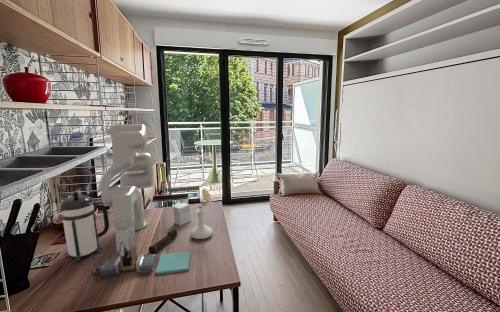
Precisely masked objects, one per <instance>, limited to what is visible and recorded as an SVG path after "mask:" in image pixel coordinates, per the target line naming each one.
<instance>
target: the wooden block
mask: <svg viewBox="0 0 500 312" xmlns="http://www.w3.org/2000/svg"><path fill="white" fill-rule="evenodd" d="M125 250H127V249H125ZM129 251H130V256H131V266H123V263H122V257H121V256H120V255H119V257H120V261H121V271H133V270H136V261H137V259H138V253H137V244H136V243H135V242H134V244H133V246H132V248H131V249H130V250H129ZM120 252H121V250H120ZM120 252H118V254H120ZM125 254H127V252H125Z"/></svg>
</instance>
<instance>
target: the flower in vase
mask: <svg viewBox="0 0 500 312" xmlns="http://www.w3.org/2000/svg"><path fill="white" fill-rule="evenodd" d="M201 194H202V197H203V198H202V201H201V204H200V205H201V206H198V207H197V210H196V211H195V213H196V214H197V217H198V224H197V225H196V226H195V227H193V228H192V230H191V231H190V236H191V238H193V239H197V240H203V239H207V238H209V237H211V236H212V234H213V229H212V228H211V227H210V226H208V225H206V224H205V223H204V215H205V213H206V210H205V209H202V208H203V207H206V206H207V203H211V201H212V197H211V196H212V195H211V193H210V192H209V190H206V188H202V191H201ZM204 200H205V201H204Z"/></svg>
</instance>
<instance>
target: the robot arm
mask: <svg viewBox="0 0 500 312" xmlns="http://www.w3.org/2000/svg"><path fill="white" fill-rule="evenodd" d="M108 132H109V135H110V137H111V139H112V145H111V147H112V165H111V166H110V167H109V168H108V169H107V170H106V171H105V172H104V174H103V176H102V179H101V181H100V182H101V185H100V199H101V202H102V205H103V206H105V207H106V206H107V207H111V206H112V214H113V222H114V228H115V246H116V252H117V253H119V252H120V250H121V252H120V253H119V257H120V256H121V257H122V263H123V266H131V256H130V251H129V250H130V249H131V248H132V246H133V244H134V243H135V242H136V231H138V230H141V229H145V228H146V227H147V226H148V225H149V221H148V220H147V219H146V217H145V207H144V206H145V205H144V198H143V193H141V191H140V190H139V189H148V188H153V187H154V186H155V182H156V181H155V179H156V178H155V171H154V162H153V161H154V160H153V157H152V154H150V153H149V152H138V151H137V150H142V149H146V148H147V145H148V133H149V132H148V129H147V126H146V124H144V123H130V124H129V123H126V124H125V123H122V124H113V125H111V126H110V127H109V128H108ZM122 172H126V173H123V174H121V176H120V177H119V182H120V183H119V184H120V186H114V187H110V182H111V181H112V180H113V178H115V177H116V176H118V175H119V174H120V173H122ZM125 249H127V250H125ZM125 252H127V254H125Z"/></svg>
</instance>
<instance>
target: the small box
mask: <svg viewBox="0 0 500 312" xmlns="http://www.w3.org/2000/svg"><path fill="white" fill-rule="evenodd" d="M172 209H173V219H174V224H176V225H178V226H183V225H185V224H187V223H189V222H191V221H192V217H191V204H189V203H186V202H182V203H180V204H177V205H174V206H173V208H172Z"/></svg>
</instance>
